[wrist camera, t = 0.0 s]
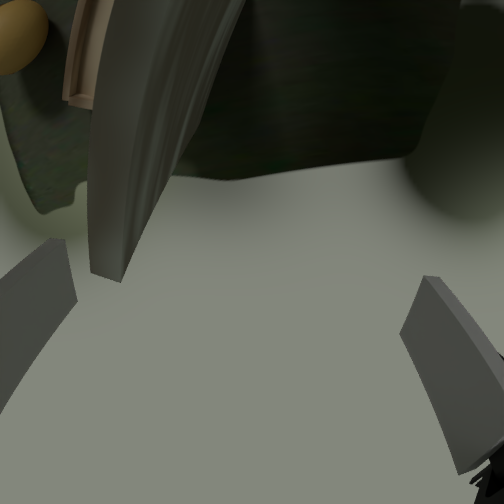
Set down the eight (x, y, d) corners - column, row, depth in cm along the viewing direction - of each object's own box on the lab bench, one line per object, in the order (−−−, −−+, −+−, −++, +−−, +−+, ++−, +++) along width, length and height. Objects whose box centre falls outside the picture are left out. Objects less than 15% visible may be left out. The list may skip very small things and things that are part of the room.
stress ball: (72, 1, 21) (13, -25, 12) (51, 52, 20) (-22, 26, 11) (33, 45, 26) (-19, 27, 17) (15, 98, 25) (-46, 82, 16)
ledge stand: (84, 96, 30) (-52, 214, 13) (115, -36, 18) (-65, -29, 1) (199, 124, 34) (120, 282, 17) (252, -15, 21) (205, -80, 4)
